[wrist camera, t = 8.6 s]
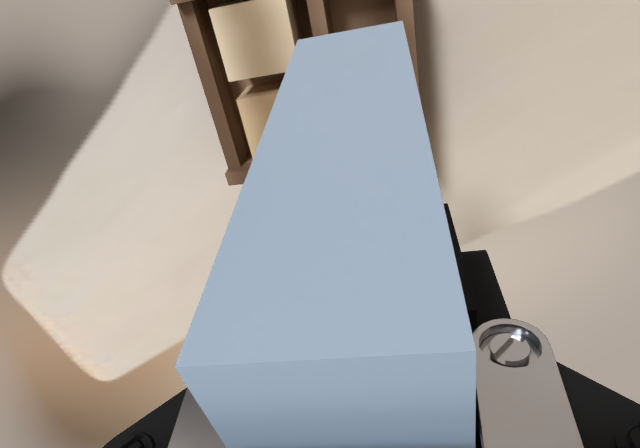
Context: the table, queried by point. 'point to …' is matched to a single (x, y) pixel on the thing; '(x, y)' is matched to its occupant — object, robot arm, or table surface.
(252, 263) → the panel
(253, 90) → the offcut
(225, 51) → the offcut
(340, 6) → the rack
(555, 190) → the table surface
